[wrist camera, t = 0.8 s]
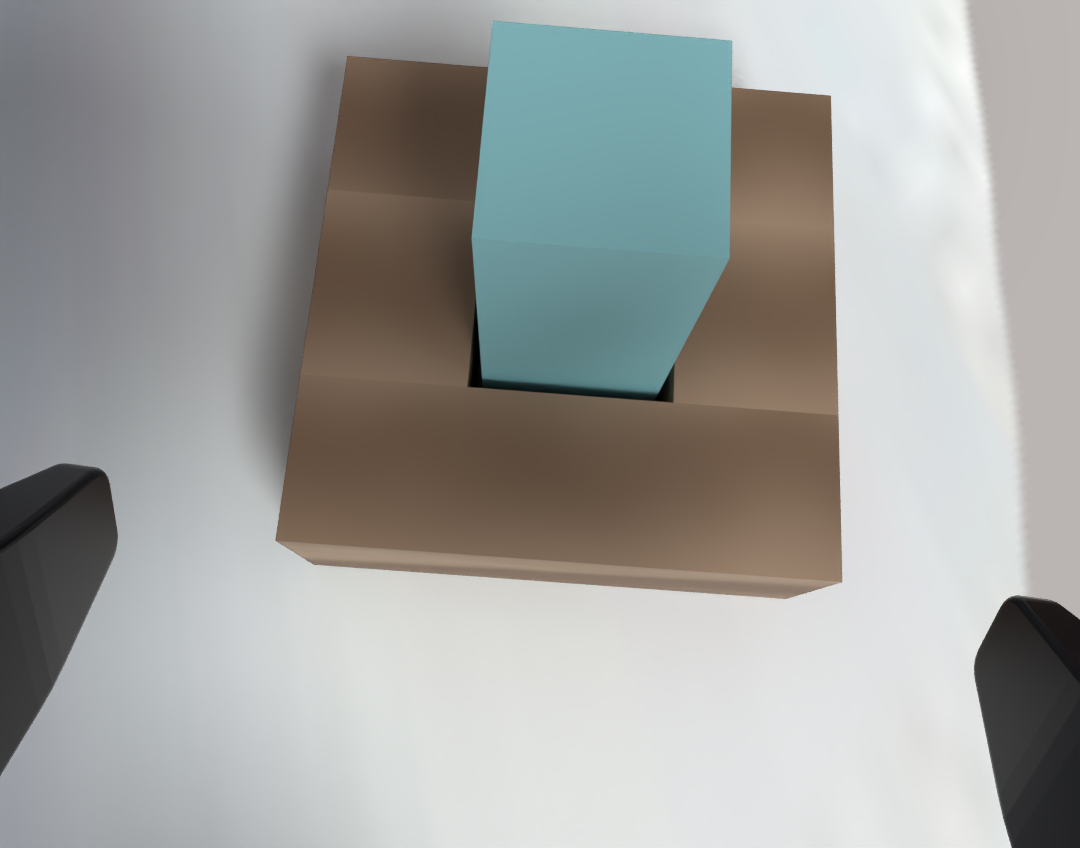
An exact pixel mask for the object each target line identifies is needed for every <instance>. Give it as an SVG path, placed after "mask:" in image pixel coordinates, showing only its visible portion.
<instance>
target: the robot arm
mask: <svg viewBox="0 0 1080 848" xmlns="http://www.w3.org/2000/svg"><path fill="white" fill-rule="evenodd" d="M117 539H118V534H117V526H116V520H115V514H114V508H113V502H112V495H111V489H110V483H109V480H108V477H107V475H106V473H105V472H104V471H102V470H101V469H99V468H96V467H89V466H82V465H75V464H65V463H63V464H58V465H55V466H52V467H50V468H48V469H45V470H43V471H41V472H38V473H36V474H34V475H31V476H29V477H27V478H24V479H22V480H20V481H18V482H15V483H13V484H11V485H8V486H6V487H4V488H1V489H0V775H1V774H2V772H3V770H4V769H5V767H6V765H7V764H8V762H9V761H10V759H11V757H12V756H13V754H14V752H15V751H16V749H17V747H18V746H19V744H20V742H21V741H22V739H23V737H24V736H25V734H26V732H27V731H28V729H29V727H30V726H31V724H32V723H33V721H34V719H35V718H36V716H37V714H38V713H39V711H40V709H41V707H42V706H43V704H44V702H45V700H46V699H47V697H48V695H49V693H50V692H51V690H52V688H53V686H54V684H55V682H56V680H57V678H58V676H59V674H60V672H61V670H62V668H63V666H64V664H65V662H66V660H67V658H68V655H69V653H70V651H71V649H72V647H73V645H74V642H75V640H76V638H77V636H78V634H79V631H80V629H81V627H82V625H83V623H84V621H85V618H86V616H87V614H88V612H89V610H90V608H91V605H92V603H93V601H94V599H95V597H96V595H97V592H98V590H99V588H100V586H101V584H102V582H103V579H104V577H105V575H106V573H107V571H108V569H109V566H110V564H111V562H112V560H113V557H114V555H115V551H116V547H117ZM974 675H975V682H976V687H977V692H978V697H979V702H980V707H981V712H982V717H983V722H984V727H985V732H986V737H987V742H988V747H989V752H990V757H991V762H992V768H993V773H994V778H995V783H996V788H997V793H998V797H999V802H1000V806H1001V810H1002V815H1003V819H1004V822H1005V826H1006V829H1007V833H1008V836H1009V840H1010V843H1011V846H1012V848H1080V619H1078V618H1077V617H1076V616H1074V615H1073V614H1072V613H1070V612H1069V611H1068V610H1066V609H1065V608H1064V607H1063V606H1061V605H1060V604H1058V603H1057V602H1054V601H1052V600H1048V599H1041V598H1033V597H1026V596H1019V595H1017V596H1012V597H1010V598H1008V599H1007V600H1006V601H1004V603H1003V604H1002V606H1001V607H1000V609H999V611H998V613H997V615H996V617H995V619H994V621H993V623H992V625H991V627H990V628H989V630H988V632H987V634H986V636H985V638H984V640H983V642H982V644H981V646H980V648H979V650H978V652H977V655H976V659H975V665H974Z"/></svg>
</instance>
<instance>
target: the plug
mask: <svg viewBox="0 0 1080 848" xmlns="http://www.w3.org/2000/svg"><path fill="white" fill-rule="evenodd" d="M731 91H732V41H729V40H717V39H705V38H693V37H681V36H669V35H657V34H645V33H633V32H620V31H608V30H596V29H584V28H572V27H560V26H548V25H536V24H524V23H512V22H500V21H493V25H492V35H491V46H490V56H489V66H488V76H487V86H486V97H485V107H484V117H483V127H482V137H481V148H480V158H479V168H478V178H477V188H476V199H475V209H474V219H473V229H472V250H473V263H474V277H475V290H476V303H477V317H478V330H479V343H480V357H481V370H482V383H483V388H487V389H500V390H513V391H526V392H539V393H552V394H566V395H579V396H592V397H605V398H618V399H631V400H644V401H654V400H655V398H656V397H657V395H658V393H659V391H660V389H661V387H662V385H663V383H664V381H665V380H666V378H667V376H668V374H669V372H670V370H671V368H672V366H673V364H674V363H675V361H676V359H677V357H678V355H679V353H680V351H681V349H682V347H683V346H684V344H685V342H686V340H687V338H688V336H689V334H690V332H691V330H692V329H693V327H694V325H695V323H696V321H697V319H698V317H699V315H700V314H701V312H702V310H703V308H704V306H705V304H706V302H707V300H708V298H709V297H710V295H711V293H712V291H713V289H714V287H715V285H716V283H717V281H718V280H719V278H720V276H721V274H722V272H723V270H724V268H725V266H726V264H727V263H728V261H729V259H730V178H731Z"/></svg>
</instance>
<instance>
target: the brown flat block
mask: <svg viewBox="0 0 1080 848" xmlns="http://www.w3.org/2000/svg"><path fill="white" fill-rule="evenodd" d="M487 76H488V68H487V67H475V66H462V65H450V64H438V63H426V62H414V61H402V60H389V59H377V58H365V57H353V56H347V63H346V69H345V76H344V83H343V90H342V96H341V103H340V110H339V116H338V123H337V130H336V137H335V143H334V150H333V157H332V164H331V170H330V177H329V184H328V190H327V197H326V204H325V211H324V217H323V224H322V231H321V238H320V244H319V251H318V258H317V264H316V271H315V278H314V285H313V291H312V298H311V305H310V311H309V318H308V325H307V332H306V338H305V345H304V352H303V359H302V365H301V372H300V379H299V385H298V392H297V399H296V406H295V412H294V419H293V426H292V433H291V439H290V446H289V453H288V459H287V466H286V473H285V480H284V486H283V493H282V500H281V507H280V513H279V520H278V527H277V533H276V540H275V541H277V542H278V543H280V544H282V545H283V546H285V547H286V548H288V549H290V550H291V551H293V552H295V553H296V554H298V555H299V556H301V557H303V558H304V559H306V560H307V561H309V562H311V563H312V564H314V565H328V566H342V567H355V568H369V569H383V570H397V571H411V572H424V573H438V574H452V575H466V576H479V577H493V578H507V579H521V580H535V581H548V582H562V583H576V584H590V585H603V586H617V587H631V588H645V589H658V590H672V591H686V592H700V593H714V594H727V595H741V596H755V597H769V598H782V599H787V598H790V597H794V596H797V595H801V594H804V593H807V592H811V591H814V590H817V589H821V588H824V587H827V586H831V585H834V584H837V583H841V582H842V551H841V508H840V466H839V423H838V381H837V338H836V296H835V253H834V211H833V168H832V125H831V96H828V95H816V94H803V93H791V92H779V91H767V90H755V89H743V88H732V91H731V178H730V259H729V261H728V263H727V264H726V266H725V268H724V270H723V272H722V274H721V276H720V278H719V280H718V281H717V283H716V285H715V287H714V289H713V291H712V293H711V295H710V297H709V298H708V300H707V302H706V304H705V306H704V308H703V310H702V312H701V314H700V315H699V317H698V319H697V321H696V323H695V325H694V327H693V329H692V330H691V332H690V334H689V336H688V338H687V340H686V342H685V344H684V346H683V347H682V349H681V351H680V353H679V355H678V357H677V359H676V361H675V363H674V364H673V366H672V368H671V370H670V372H669V374H668V376H667V378H666V380H665V381H664V383H663V385H662V387H661V389H660V391H659V393H658V395H657V397H656V398H655V400H654V401H644V400H631V399H618V398H605V397H592V396H579V395H566V394H552V393H539V392H526V391H513V390H500V389H487V388H483V383H482V370H481V357H480V343H479V330H478V317H477V303H476V290H475V277H474V263H473V250H472V229H473V219H474V209H475V199H476V188H477V178H478V168H479V158H480V148H481V137H482V127H483V117H484V107H485V97H486V86H487Z"/></svg>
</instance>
